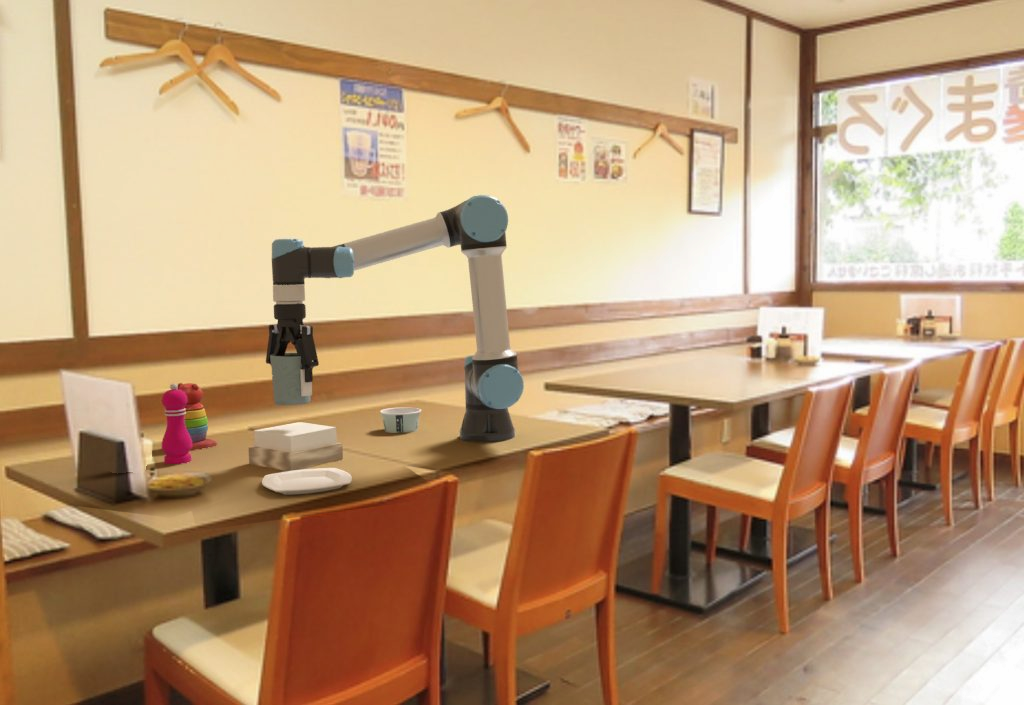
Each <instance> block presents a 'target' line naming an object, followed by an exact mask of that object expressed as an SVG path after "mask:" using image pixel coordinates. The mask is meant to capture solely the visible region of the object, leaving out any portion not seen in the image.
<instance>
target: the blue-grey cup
mask: <svg viewBox="0 0 1024 705" xmlns="http://www.w3.org/2000/svg"><path fill="white" fill-rule="evenodd" d="M270 359H271V365H270V367H271V376H272V377H271V378H272V379H271V380H272V387H273V391H272V392H273V394H272V395H273V401H274V405H276V406H299V405H300V406H301V405H307V404H310V403H311V396H312V395H310V396H301V373H300V369H301V367H302V364H301V356H298V354H297V352H285V355H284V356H276V354H272V355H270ZM306 364H307V362H306Z"/></svg>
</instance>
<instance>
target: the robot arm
mask: <svg viewBox="0 0 1024 705" xmlns="http://www.w3.org/2000/svg"><path fill="white" fill-rule="evenodd" d="M508 225H509V215H508V211H507V209H506V207H505V206H504V204H503V203H502V202H501V201H500V200H499V199H498V198H496V197H494V196H490V195H487V194H486V195H485V194H478V195H473V196H471V197H470V198H468V199H466V200H464V201H462V202H461V203H459V204H457V205H455V206H453V207H451V208H449V209H446V210H442V211H440V212H437V213H436V215H435V217H432V218H429V219H426V220H422V221H418V222H415V223H412V224H407V225H404V226H400V227H398V228H393V229H389V230H386V231H384V232H381V233H380V232H379V233H376V234H374V235H369V236H365V237H362V238H358V239H355V240H352V241H348V242H344V243H341V244H337V245H334V246H321V247H320V246H319V247H317V246H316V247H310V246H305V244H304V240H302V239H301V238H279V239H278V238H277V239H275V240H273V241H272V242H271V270H272V271H271V272H272V274H271V275H272V302H274V303H275V304H274V305H273V317H274V319H275V320H277V324H269V325H268V341H267V348H266V357H265V363H266V364H269V365H270V366H271V359H270V355H272V354H276V356H284V355H285V353H287V352H286V351H287V348H288V345H289V343H291V345H293V346H294V349H295V351H296V353H297V354H298V356H301V364H302V367H301V369H300V373H301V396H310V395H311V396H313V384H312V382H313V380H314V379H313V378H314V377H313V376H314V375H313V368H316V367H318V366H319V364H320V363H319V359H318V354H317V349H316V344H315V339H314V334H313V332H314V328H313V325H305V324H304V320H305V318H306V316H307V313H306V311H307V309H306V307H307V306H306V304H305V303H303V302H305V301H306V290H305V279H336V278H337V279H343V278H351V277H353V276H354V272H355V271H357V270H361V269H365V268H368V267H373V266H375V265H379V264H382V263H386V262H390V261H393V260H396V259H400V258H403V257H407V256H410V255H414V254H417V253H421V252H424V251H428V250H431V249H435V248H439V247H442V246H443V247H446V248H447V249H449V248H452V247H456V246H460V249H461V250H460V251H461V253H462V254H463V255H465V256H466V258H467V262H468V272H469V281H470V290H471V291H470V293H471V300H472V301H471V302H472V311H473V312H472V313H473V322H474V332H475V342H476V352H475V353H474V354H472V355H468V356H466V357H465V359H464V366H463V369H464V390H465V392H464V393H465V394H464V397H465V398H464V399H465V412H464V416H463V419H462V423H461V427H460V429H459V439H460V440H462V441H465V442H469V443H470V442H472V443H496V442H504V441H505V442H506V441H508V440H512V439H515V437H516V430H515V427H514V424H513V420H512V418H511V413H510V412H509V408H511V407H512V406H514V405H515V404H516V403H518V401H519V400H520V399H521V397H522V395H523V392H524V386H525V385H524V378H523V375H522V374H521V372H520V371H519V365H518V364H519V362H518V354H517V352H516V351H515V350H514V349H512V348H511V341H510V332H509V319H508V312H507V311H508V310H507V301H506V300H507V299H506V298H507V297H506V289H505V278H504V270H503V268H504V267H503V257H502V255H503V253H504V252H505V250H506V249H507V237H506V232H507V229H508ZM306 362H307V364H306ZM311 396H310V397H311Z"/></svg>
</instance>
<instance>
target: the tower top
mask: <svg viewBox="0 0 1024 705" xmlns="http://www.w3.org/2000/svg"><path fill="white" fill-rule="evenodd" d="M253 436H254V437H253V438H254V440H253V441H254V446H255V447H260V448H266V449H272V450H277V451H283V452H289V453H294V452H298V451H303V450H308V449H312V448H317V447H322V446H326V445H331V444H336V443H337V442H338V437H337V427H336V426H330V425H323V424H317V423H316V424H315V423H310V422H309V423H308V422H301V421H297V422H293V423H287V424H282V425H275V426H271V427H265V428H260V429H259V428H258V429H254V430H253Z"/></svg>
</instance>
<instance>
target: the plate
mask: <svg viewBox="0 0 1024 705" xmlns="http://www.w3.org/2000/svg"><path fill="white" fill-rule="evenodd" d="M352 479H353V478H352V475H351V473H350V472H347V471H345V470H343V469H340V468H337V467H324V468H323V467H321V468H319V467H318V468H304V469H300V470H293V471H280V472H275V473H274V472H273V473H270V474H269V473H268V474H266V475H264V476H263V478H262V481H261V484H262V485H263V487H264V488H267V489H269V490H271V491H273V492H275V493H279V494H282V495H283V496H287V495H288V496H290V495H305V494H306V495H307V494H315V493H321V492H326V491H333V490H338V489H341V488H342V487H343V486H345V485H349V484H351V482H352Z"/></svg>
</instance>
